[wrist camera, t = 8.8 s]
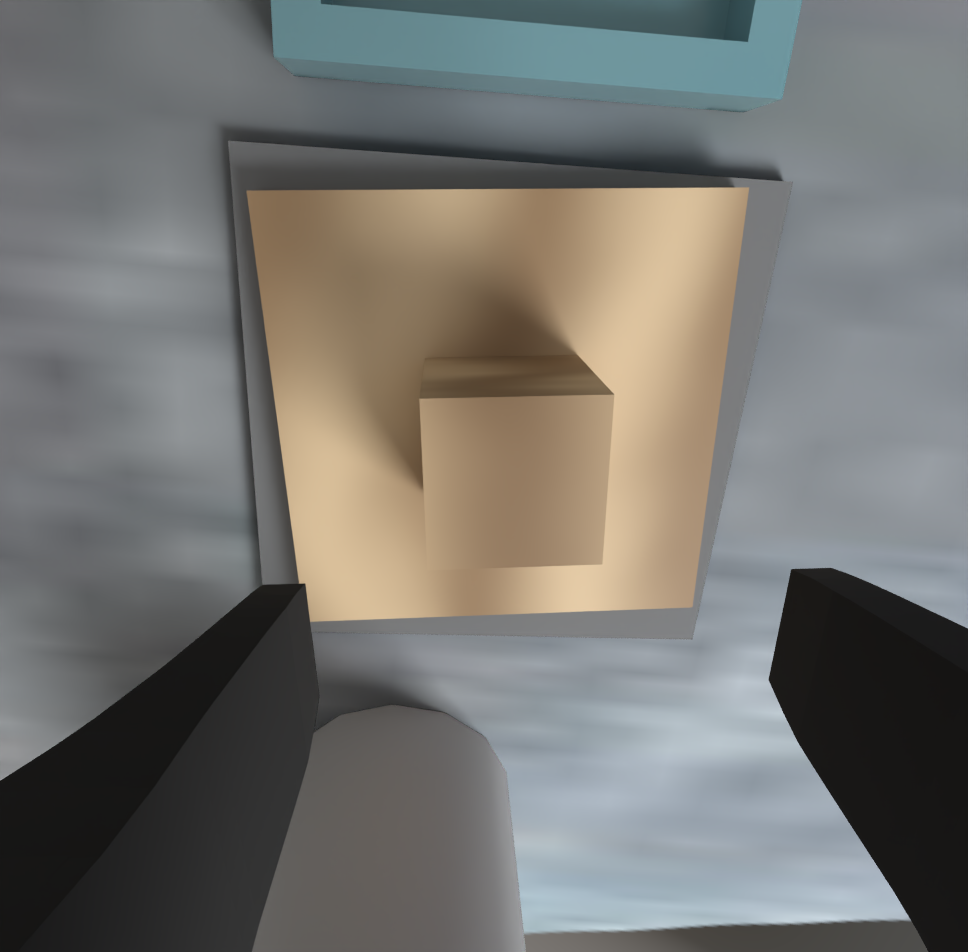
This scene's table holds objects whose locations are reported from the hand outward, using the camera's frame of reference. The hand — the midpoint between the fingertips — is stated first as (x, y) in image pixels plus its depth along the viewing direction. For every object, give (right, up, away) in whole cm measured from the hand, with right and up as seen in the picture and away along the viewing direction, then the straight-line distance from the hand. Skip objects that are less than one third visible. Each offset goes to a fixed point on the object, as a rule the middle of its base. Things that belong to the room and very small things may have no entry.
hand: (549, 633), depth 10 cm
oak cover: (-1, +4, +9) cm, 10 cm away
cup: (-4, -10, +15) cm, 18 cm away
